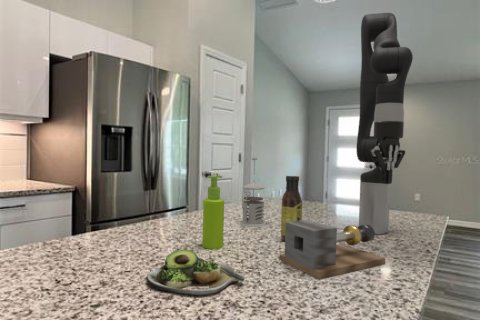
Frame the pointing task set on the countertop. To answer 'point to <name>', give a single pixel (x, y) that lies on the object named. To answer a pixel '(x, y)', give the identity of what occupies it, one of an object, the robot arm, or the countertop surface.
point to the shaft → (356, 234)
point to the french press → (253, 206)
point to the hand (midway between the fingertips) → (386, 183)
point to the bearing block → (322, 251)
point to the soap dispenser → (213, 217)
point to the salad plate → (191, 274)
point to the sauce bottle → (291, 203)
